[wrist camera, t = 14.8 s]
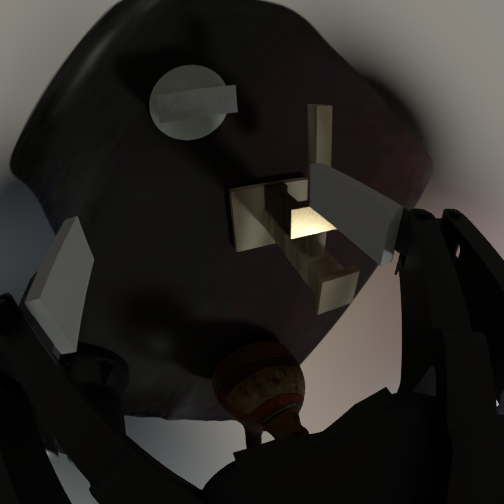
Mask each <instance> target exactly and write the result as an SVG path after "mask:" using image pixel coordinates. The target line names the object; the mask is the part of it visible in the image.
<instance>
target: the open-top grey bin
mask: <svg viewBox="0 0 504 504" xmlns="http://www.w3.org/2000/svg"><path fill="white" fill-rule="evenodd" d="M156 97H157V105H158V113H159V121H160V124H162V123H167V122H173V121H178V120H184V119H190V118H196V117H202V116H210V115H217V114H225V113H234V112H238V110H237V96H236V85H230V86H219V87H210V88H201V89H194V90H187V91H180V92H174V93H169V94H163V95H158V96H156Z"/></svg>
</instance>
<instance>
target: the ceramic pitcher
mask: <svg viewBox="0 0 504 504" xmlns="http://www.w3.org/2000/svg"><path fill="white" fill-rule="evenodd" d="M212 387H213V391H214V394H215V396H216V398H217V400H218V402H219V403H220V405H221V406H222V408H223V409H224V410H225V411H226V412H227V413H228V414H229V415H230V416H231V417H232V418H233V419H235V420H237V421H238V422H240V423H241V424H242V425H243V426H244V429H245V435H246V446H247V449H248V448H251V447H254V446H257V445H260V444H262V443H261V435H262V433H263V431H267V432H269V433H270V434H271V435H272V436H273V437H274V438H275V439H283V438H290V437H296V436H303V435H309V432H308V430H307V429H306V428H304V427H303V426H302V425H301V423H300V418H299V411H300V410H301V407H302V405H303V401H304V395H305V381H304V376H303V373H302V370H301V368H300V365H299V363H298V362H297V360H296V358H295V357H294V356H293V354H292V353H291V352H290V351H289V350H288V349H287V348H286V347H285V346H284V345H282V344H280V343H278V342H275V341H258V342H254V343H250V344H246V345H244V346H241V347H239V348H237V349H236V350H234V351H233V352H231V353H230V354H229V355H228V356H227V357H226V358H224V359H223V360H222V361H221V362H220V363H219V364H218V365H217V367H216V368H215V370H214V372H213V376H212Z"/></svg>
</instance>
